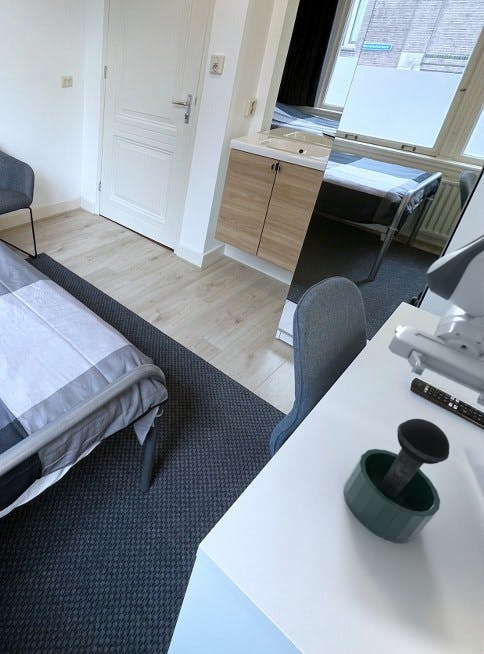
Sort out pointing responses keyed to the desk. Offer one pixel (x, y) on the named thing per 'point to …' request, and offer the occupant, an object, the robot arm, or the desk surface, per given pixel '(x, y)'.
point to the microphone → (414, 453)
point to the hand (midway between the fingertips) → (449, 386)
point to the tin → (389, 499)
